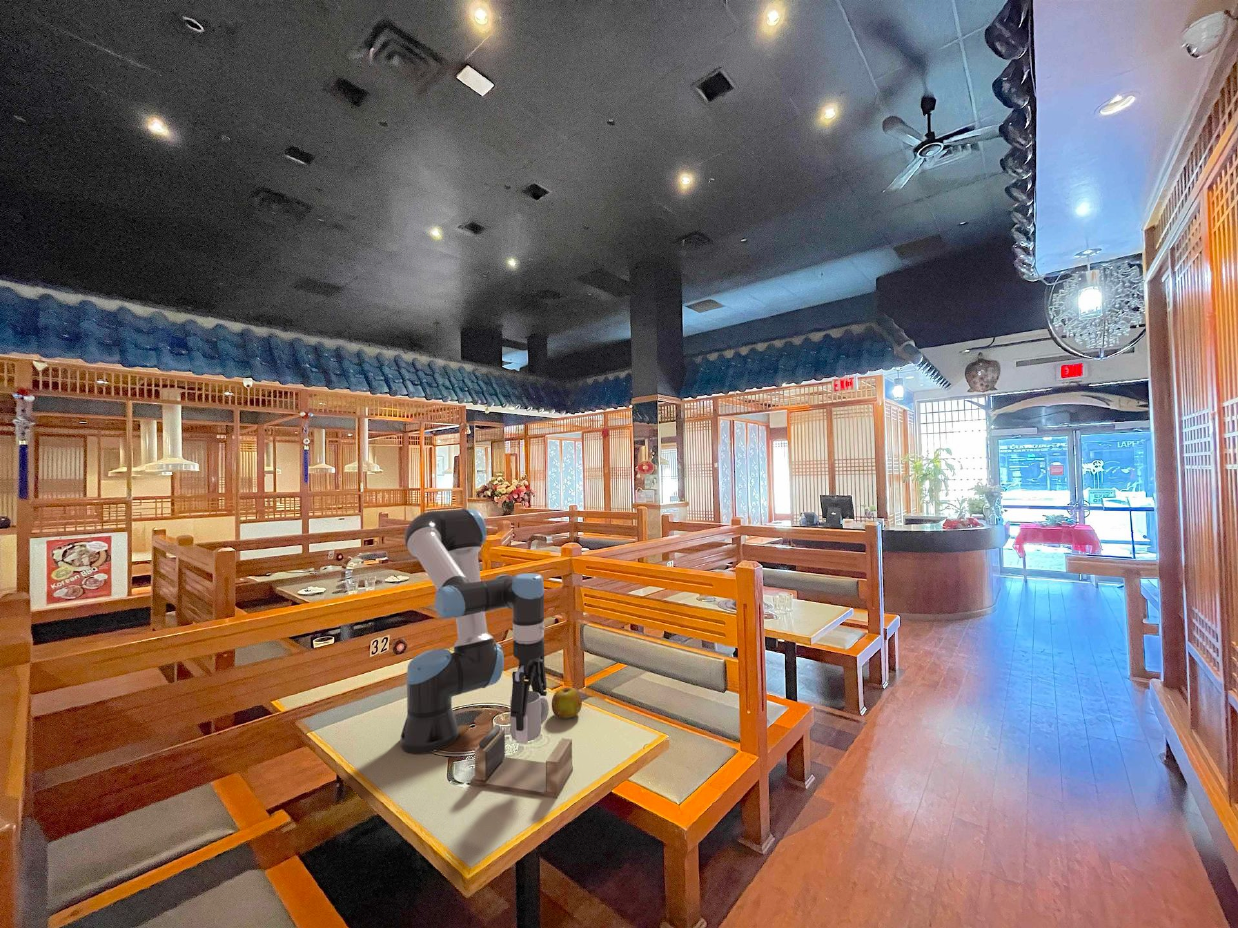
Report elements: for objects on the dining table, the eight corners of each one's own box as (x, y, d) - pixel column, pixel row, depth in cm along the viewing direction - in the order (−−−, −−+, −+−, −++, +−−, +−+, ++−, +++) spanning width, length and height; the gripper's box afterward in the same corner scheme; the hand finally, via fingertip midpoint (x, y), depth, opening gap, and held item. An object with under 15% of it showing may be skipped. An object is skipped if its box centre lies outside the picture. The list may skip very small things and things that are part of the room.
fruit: (562, 706, 160) (562, 680, 160) (587, 711, 156) (587, 686, 156) (545, 719, 151) (545, 693, 151) (571, 726, 147) (571, 698, 147)
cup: (505, 733, 122) (504, 696, 122) (540, 720, 129) (540, 685, 129) (520, 745, 117) (519, 707, 117) (556, 730, 123) (555, 694, 123)
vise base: (470, 784, 120) (469, 751, 120) (492, 759, 131) (492, 728, 131) (556, 798, 115) (556, 763, 115) (572, 770, 125) (572, 738, 126)
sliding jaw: (475, 778, 120) (474, 742, 120) (495, 755, 130) (494, 722, 130) (486, 780, 120) (486, 744, 120) (505, 757, 129) (505, 723, 129)
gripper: (524, 655, 111) (525, 758, 111) (559, 626, 132) (560, 713, 132) (493, 653, 113) (494, 754, 113) (532, 624, 134) (533, 710, 134)
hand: (530, 732), depth 122 cm, fingers closed on cup, 9 cm apart
